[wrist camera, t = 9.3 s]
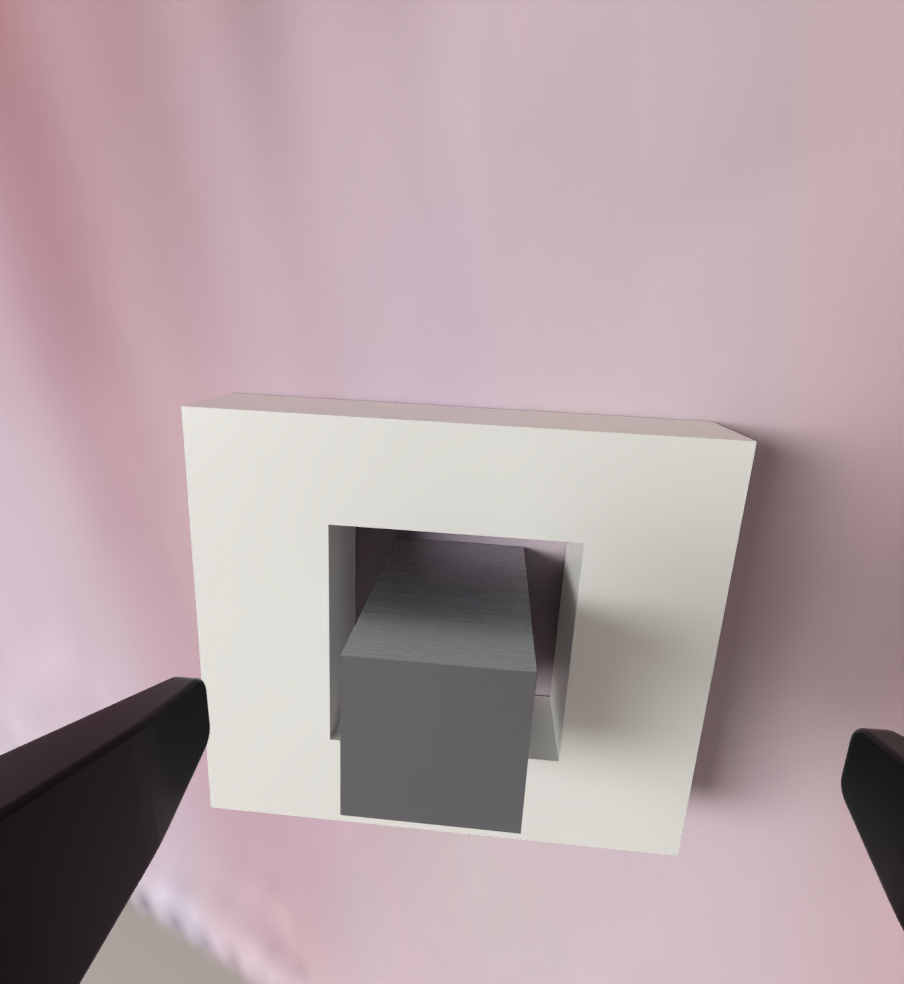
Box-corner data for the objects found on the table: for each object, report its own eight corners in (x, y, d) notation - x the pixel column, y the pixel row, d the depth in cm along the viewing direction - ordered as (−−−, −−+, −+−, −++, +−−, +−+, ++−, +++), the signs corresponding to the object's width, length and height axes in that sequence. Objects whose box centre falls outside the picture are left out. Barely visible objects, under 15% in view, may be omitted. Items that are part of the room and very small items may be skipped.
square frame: (712, 421, 19) (756, 441, 16) (652, 779, 23) (678, 855, 20) (234, 393, 20) (181, 406, 17) (251, 740, 24) (210, 807, 21)
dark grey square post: (523, 546, 21) (536, 672, 13) (513, 659, 22) (520, 833, 15) (397, 537, 21) (340, 655, 14) (394, 648, 23) (340, 815, 15)
